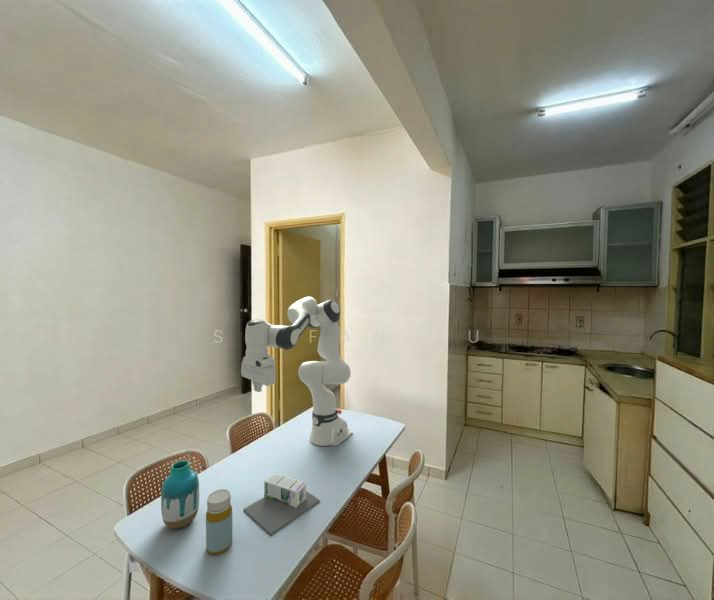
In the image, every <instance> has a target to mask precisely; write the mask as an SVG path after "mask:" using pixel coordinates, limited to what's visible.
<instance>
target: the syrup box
mask: <svg viewBox="0 0 714 600" xmlns="http://www.w3.org/2000/svg"><path fill="white" fill-rule="evenodd" d="M263 482H264V483H263V484H264V485H263V487H264V490H263V491H264V492H263V495H264V496H263V497H267V498H270V499H273V500H276V501H279V502H281V503H284V504H287V505H290V506H293V507H295V508H298V507H299V506H300V505H301V504H302V503H303V502H304V500H305V499H306V491H307V483H306V482H305V481H301V480H298V479H296V478H295V479H294V478H291V477H289V476H285V475H283V474H279V473H275V472H274V473H273V474H271V475H270V476H268V477H267V478H266V479H265V480H264V481H263Z"/></svg>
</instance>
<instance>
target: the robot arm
mask: <svg viewBox="0 0 714 600" xmlns="http://www.w3.org/2000/svg"><path fill="white" fill-rule="evenodd" d="M286 315H287V318H288V320H289V322H290V323H291V325H277V324H271V323H268V321H266V319H263V318H256V319H251V320H249V321H248V322H247V323H246V326H245V335H244V337H245V338H244V341H245V342H244V343H245V345H246V349H245V355H244V356H243V358H242V362H241V367H240V374H241V377H243V378H246V379H248V380H251V383H252V386H253V391H254V392H258V393H261V392H262V388H263V386H266V387H270V386H273V385H275V383H276V373H277V372H276V367H275V365H276V362H277V361H276V359H275V358H273V357H272V355H270V354H269V349H268V348H269V347H270V348H275V349H277V348H278V349H282V350H286V351H287V350H289V351H290V350H292V349H293V348H295V346H296V345H297V343H298V341H299V339H300V337H301V336H302V335H303V333H304V332H305V331H306V330H307V328H308V327H309V329H317V328H319V327H320V328H321V329H320V335H319V336H318V337H319V338H318V344H317V350H316V351H317V353H318V355H319V357H321V358H322V359H325V360H310V361H309V360H307V361H305V362H301V364H300V366H299V368H298V370H297V371H298V377H299V380H300V381H301V382H302V383H304V384H305V385H306V387H307V388H308V389H309V391H310V393H311V397H312V414H311V416H312V418H311V419H312V423H311V425H312V426H311V430H310V431H311V432H310V436H309V441H310V443H311V444H312V445H315V446H321V447H325V446H327V447H328V446H339V445H340V444H341V443H342V442H344V441H345V440H346V439H348V438H349V437H350V436H352V435H353V431H352V429H350V428H349V427H348V422H347V421H346V420H345V419H344V418H342V417H341V416H339V415H341V414H342V412H343V411H342V410H341V409H339V408H338V409H336V395H335V394H334V392H333V391H332V390H330V389H328V388H327V387H326V386H325V385H342V384H346V383H348V382H349V380H350V377H351V369H350V366H349V365H348V363H346V361H344V360H343V359H342V358H341V356H340V341H341V328H340V325H339V324H338V321H339V320H340V316H341V307H340V305H339V303H338V302H337V301H336V300H334V299H329V300H324V302H322V303H319V304H318V302H317V300H316V299H315V298H314V297H312V296H305V297H303V298H301V299H299V300H296V301H295V302H294V303H292V304H290V306H289V307H288V309H287V313H286Z"/></svg>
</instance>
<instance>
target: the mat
mask: <svg viewBox="0 0 714 600" xmlns="http://www.w3.org/2000/svg"><path fill="white" fill-rule="evenodd" d="M320 502H321V501H320V499H319V498H317V497H316V496H314V495H312V494H311V493H310V492H309V491H307V490H306V499H305V500H304V502H303V503H302V504H301V505H300V506H299V507H298V508H295V507H293V506H290V505H287V504H284V503H281V502H279V501H276V500H273V499H270V498H267V497H265V496H263V497H262V498H259V500H257V501H255V502H253V503H251V504H250V505H248V506H246V507H244V508H243V512H245V513H246V514H247V515H248V516H249V517H250V518H251V519H252V520H253V521H255V523H256V524H257V525H258V526H260V527H261V528H262V529H263V530H264V531H265V532H266V533H267V535H269V536H273V535H274V534H275V533H276V532H279V530H281V529H283V528H285V526H287V525H289V524H290V523H292V521H294V520H296V519H297V518H299V517H300V516H301V515H303V514H304V513H306V512H307V511H309V510H310V509H312V508H313V507H314V506H316V505H317V504H319V503H320Z"/></svg>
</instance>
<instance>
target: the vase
mask: <svg viewBox="0 0 714 600" xmlns="http://www.w3.org/2000/svg"><path fill="white" fill-rule="evenodd" d="M169 471H170V472H169V475H168V476H167V477H166V478H165V479H164V481H163V482H162V485H161V495H160V503H161V504H160V505H161V509H160V510H161V516H162V517H161V518H162V521H163V524H164V526H166V527H167V528H169V529H172V530H174V529H175V530H177V529H181V528H184V527H186V526H187V525H189V524H190V523H191V522H193V521H194V519H195V518H196V516H197V514H198V512H199V507H200V482H199V476H198V474H197V472H196V471H195V470H192V469H191V464H190V461H189V460H186V459H182V460H179V461H175V462H174V463H172V464H171V466H170V470H169Z"/></svg>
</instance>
